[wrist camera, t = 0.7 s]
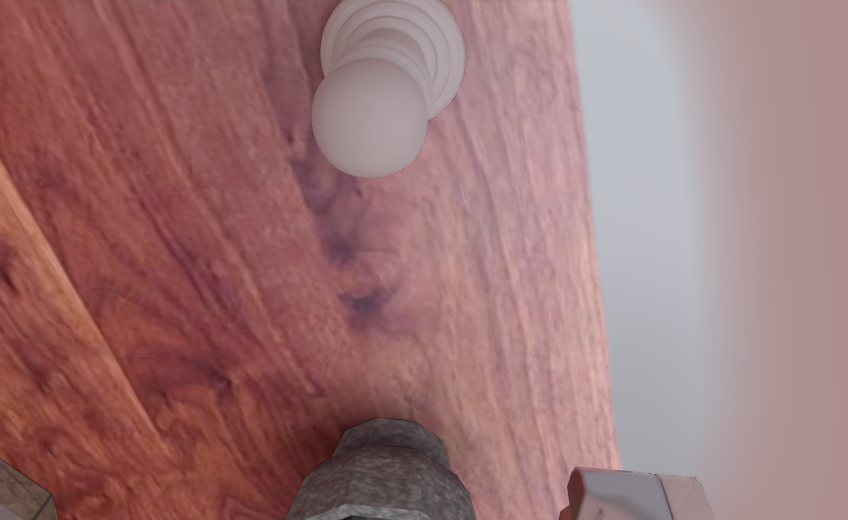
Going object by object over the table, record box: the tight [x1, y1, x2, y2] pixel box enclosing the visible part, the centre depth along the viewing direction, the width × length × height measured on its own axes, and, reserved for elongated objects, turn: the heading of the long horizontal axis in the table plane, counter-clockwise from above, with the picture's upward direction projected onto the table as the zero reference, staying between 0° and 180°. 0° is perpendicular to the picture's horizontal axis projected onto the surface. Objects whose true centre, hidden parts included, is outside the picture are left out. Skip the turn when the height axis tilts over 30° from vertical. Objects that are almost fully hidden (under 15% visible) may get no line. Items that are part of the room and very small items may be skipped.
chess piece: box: [312, 0, 466, 178], centre depth 22 cm, size 5×5×9 cm
